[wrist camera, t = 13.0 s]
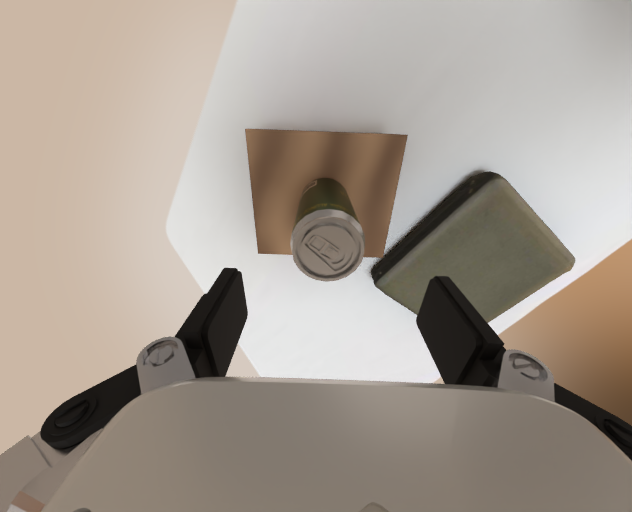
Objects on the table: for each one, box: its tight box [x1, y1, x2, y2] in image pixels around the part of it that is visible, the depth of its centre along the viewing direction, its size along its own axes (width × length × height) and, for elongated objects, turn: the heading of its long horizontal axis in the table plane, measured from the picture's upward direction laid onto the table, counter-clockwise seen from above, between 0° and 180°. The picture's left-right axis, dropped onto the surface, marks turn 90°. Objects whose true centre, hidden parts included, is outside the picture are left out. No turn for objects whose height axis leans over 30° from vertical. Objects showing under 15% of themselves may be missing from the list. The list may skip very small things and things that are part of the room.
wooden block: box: [245, 129, 408, 258], centre depth 29 cm, size 16×14×7 cm
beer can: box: [290, 178, 365, 281], centre depth 21 cm, size 5×5×12 cm
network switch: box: [371, 172, 575, 323], centre depth 36 cm, size 23×23×5 cm
